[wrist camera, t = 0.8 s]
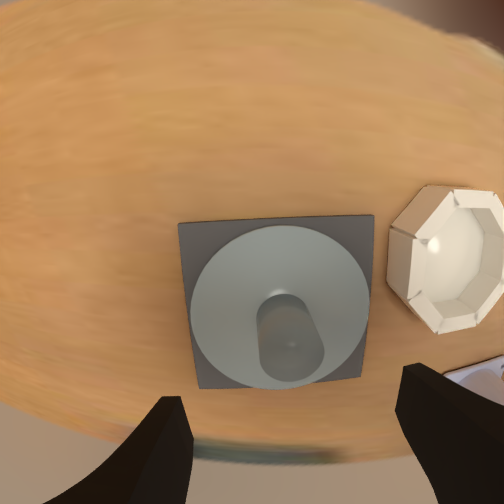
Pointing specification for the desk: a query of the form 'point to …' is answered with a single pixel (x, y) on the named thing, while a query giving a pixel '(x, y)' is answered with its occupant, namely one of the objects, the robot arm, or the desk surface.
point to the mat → (220, 232)
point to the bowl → (448, 256)
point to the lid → (279, 307)
